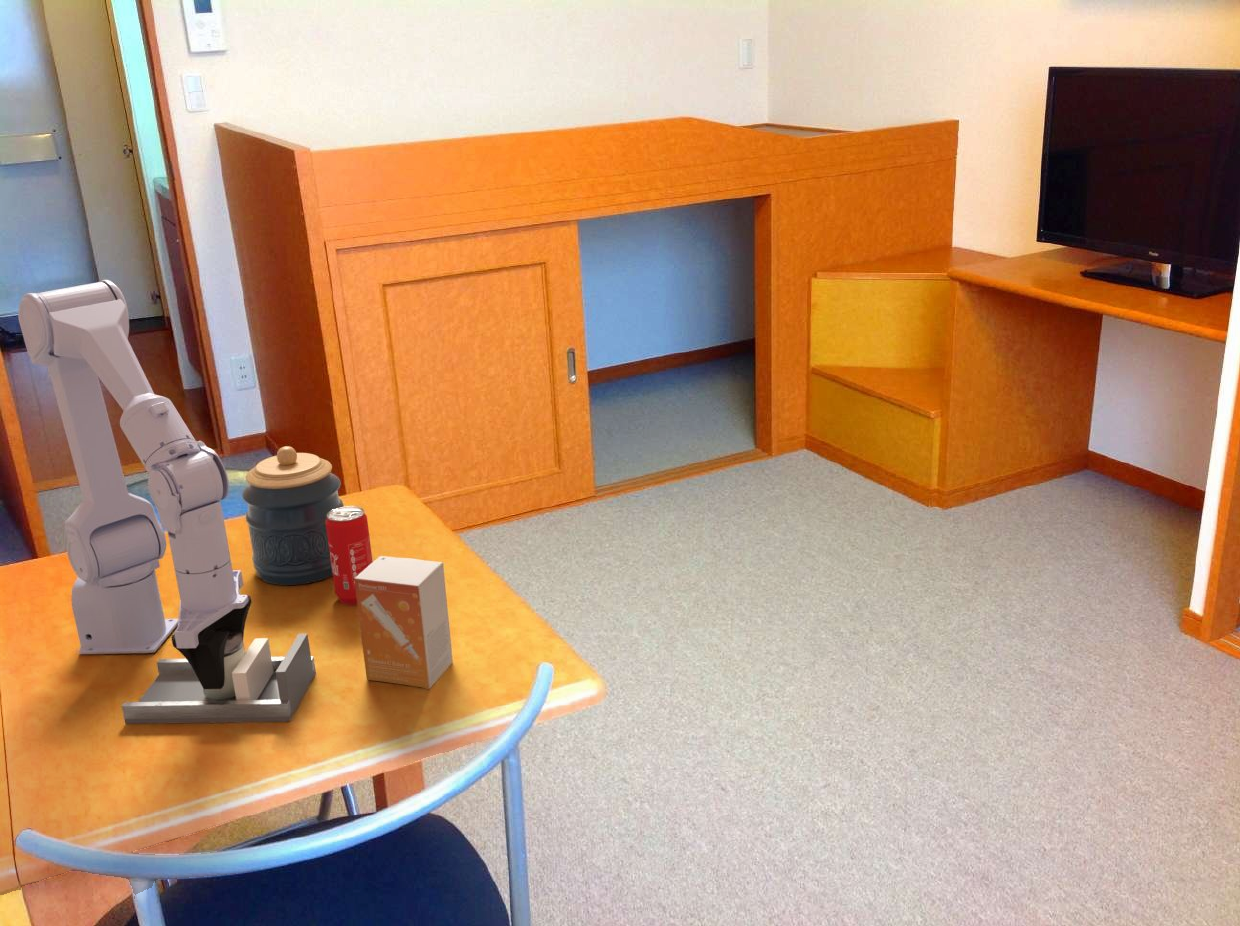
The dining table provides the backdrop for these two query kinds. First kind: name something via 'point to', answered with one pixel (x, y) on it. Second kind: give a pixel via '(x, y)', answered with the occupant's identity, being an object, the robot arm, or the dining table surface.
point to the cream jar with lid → (228, 664)
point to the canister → (291, 516)
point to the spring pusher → (253, 670)
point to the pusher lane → (185, 702)
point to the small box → (404, 621)
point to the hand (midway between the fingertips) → (222, 674)
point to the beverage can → (348, 549)
